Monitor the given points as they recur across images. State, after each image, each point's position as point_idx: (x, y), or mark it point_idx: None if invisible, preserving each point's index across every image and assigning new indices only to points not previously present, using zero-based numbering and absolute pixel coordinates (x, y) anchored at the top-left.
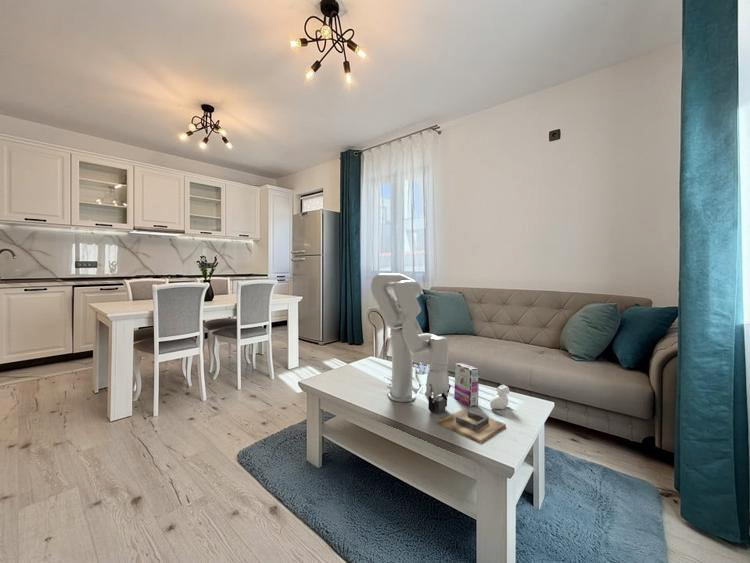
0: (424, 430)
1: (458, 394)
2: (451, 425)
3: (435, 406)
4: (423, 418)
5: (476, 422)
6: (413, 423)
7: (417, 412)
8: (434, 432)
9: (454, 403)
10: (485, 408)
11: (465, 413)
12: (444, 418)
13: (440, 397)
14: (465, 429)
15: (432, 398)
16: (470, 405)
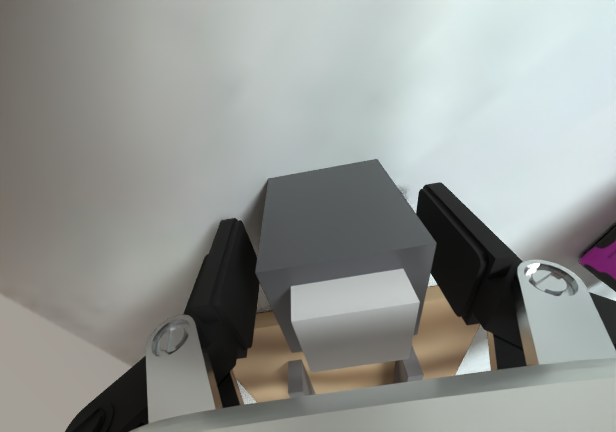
0: (88, 340)
1: None
2: (244, 370)
3: (256, 307)
4: (132, 257)
5: (370, 377)
6: (21, 280)
7: (108, 151)
8: (140, 358)
9: (607, 161)
10: (602, 296)
11: (423, 327)
12: (258, 331)
13: (375, 354)
14: (278, 391)
15: (304, 268)
16: (590, 269)
